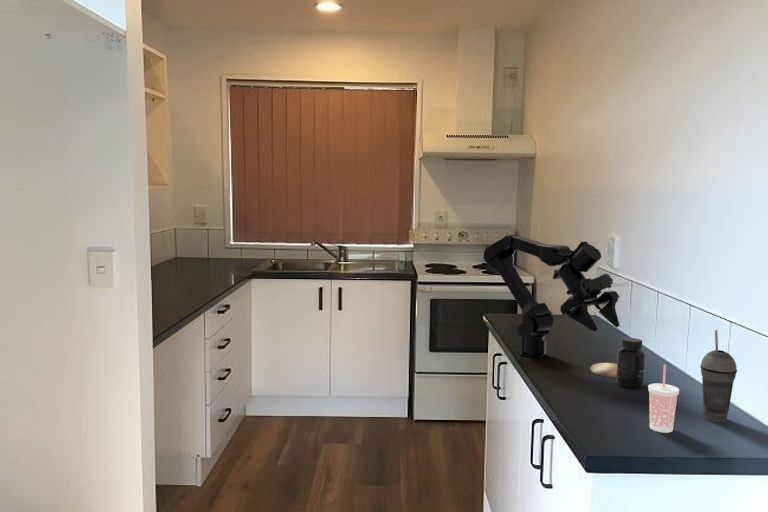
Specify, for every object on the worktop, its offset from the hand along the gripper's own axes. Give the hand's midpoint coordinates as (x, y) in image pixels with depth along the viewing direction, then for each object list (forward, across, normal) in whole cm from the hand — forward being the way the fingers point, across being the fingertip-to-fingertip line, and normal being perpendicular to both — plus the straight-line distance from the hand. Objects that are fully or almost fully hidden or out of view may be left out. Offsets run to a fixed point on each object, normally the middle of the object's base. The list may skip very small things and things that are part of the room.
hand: (607, 328), depth 170 cm
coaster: (+8, +6, +11) cm, 15 cm away
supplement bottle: (+15, 0, +4) cm, 16 cm away
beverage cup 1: (+31, -20, -11) cm, 38 cm away
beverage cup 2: (+33, -5, -14) cm, 36 cm away
